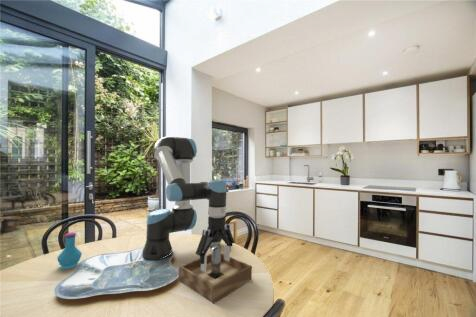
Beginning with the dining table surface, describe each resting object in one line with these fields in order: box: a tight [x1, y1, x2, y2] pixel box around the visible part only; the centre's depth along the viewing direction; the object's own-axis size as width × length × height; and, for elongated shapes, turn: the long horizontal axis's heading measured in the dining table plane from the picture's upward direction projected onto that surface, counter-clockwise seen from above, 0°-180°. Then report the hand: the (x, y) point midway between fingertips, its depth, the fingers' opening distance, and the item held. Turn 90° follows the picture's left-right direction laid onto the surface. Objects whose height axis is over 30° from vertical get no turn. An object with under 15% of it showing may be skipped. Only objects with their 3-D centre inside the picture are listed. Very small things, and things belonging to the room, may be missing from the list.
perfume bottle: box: [57, 232, 83, 270], centre depth 104 cm, size 9×9×15 cm
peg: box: [211, 245, 222, 279], centre depth 94 cm, size 4×4×14 cm
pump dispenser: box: [206, 225, 223, 248], centre depth 134 cm, size 10×10×15 cm
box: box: [178, 252, 253, 304], centre depth 94 cm, size 22×22×6 cm
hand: (215, 265), depth 94 cm, fingers open, 13 cm apart
